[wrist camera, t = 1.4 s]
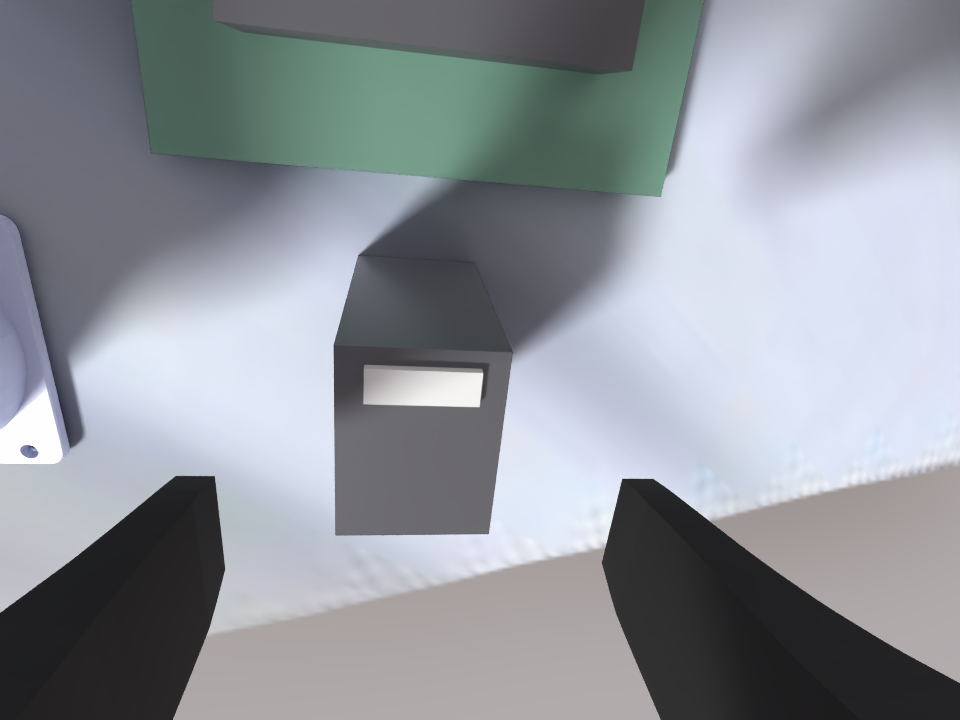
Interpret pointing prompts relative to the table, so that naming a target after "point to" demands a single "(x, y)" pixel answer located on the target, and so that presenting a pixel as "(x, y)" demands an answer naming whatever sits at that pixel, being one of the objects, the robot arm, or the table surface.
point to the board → (423, 86)
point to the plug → (417, 399)
